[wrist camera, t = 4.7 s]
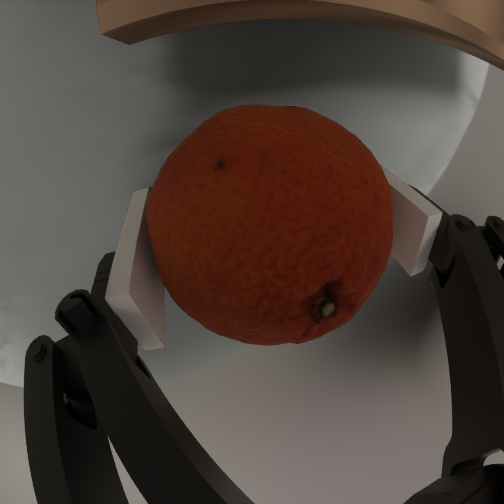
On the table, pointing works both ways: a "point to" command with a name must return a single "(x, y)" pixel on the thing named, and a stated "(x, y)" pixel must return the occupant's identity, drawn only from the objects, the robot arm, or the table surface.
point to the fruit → (270, 224)
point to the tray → (323, 8)
